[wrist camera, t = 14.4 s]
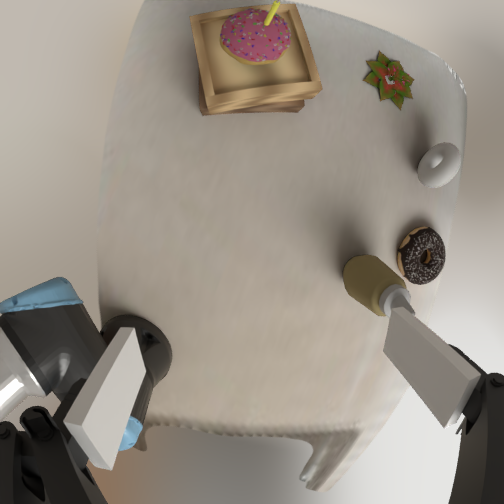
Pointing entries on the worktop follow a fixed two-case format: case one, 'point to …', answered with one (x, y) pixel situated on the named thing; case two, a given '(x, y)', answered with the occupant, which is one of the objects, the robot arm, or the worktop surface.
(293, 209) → the worktop surface
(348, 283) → the squeeze bottle
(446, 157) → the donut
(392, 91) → the lily flower
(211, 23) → the tower top
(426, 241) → the donut
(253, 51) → the cupcake
